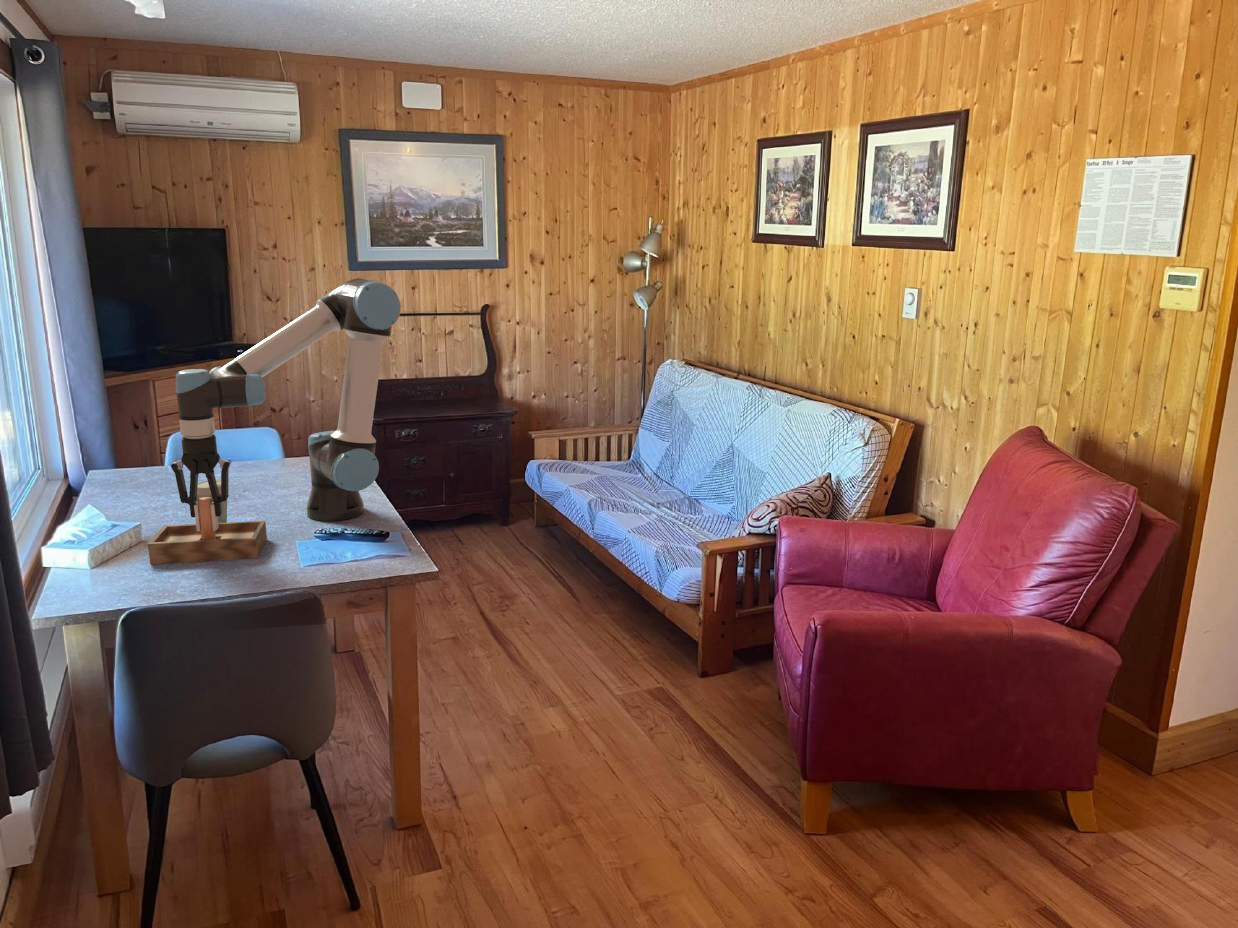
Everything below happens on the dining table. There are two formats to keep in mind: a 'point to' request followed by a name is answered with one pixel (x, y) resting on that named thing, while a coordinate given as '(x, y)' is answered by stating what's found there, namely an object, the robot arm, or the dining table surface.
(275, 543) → the dining table surface
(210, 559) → the crate
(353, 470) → the robot arm
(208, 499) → the peg
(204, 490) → the coffee cup
